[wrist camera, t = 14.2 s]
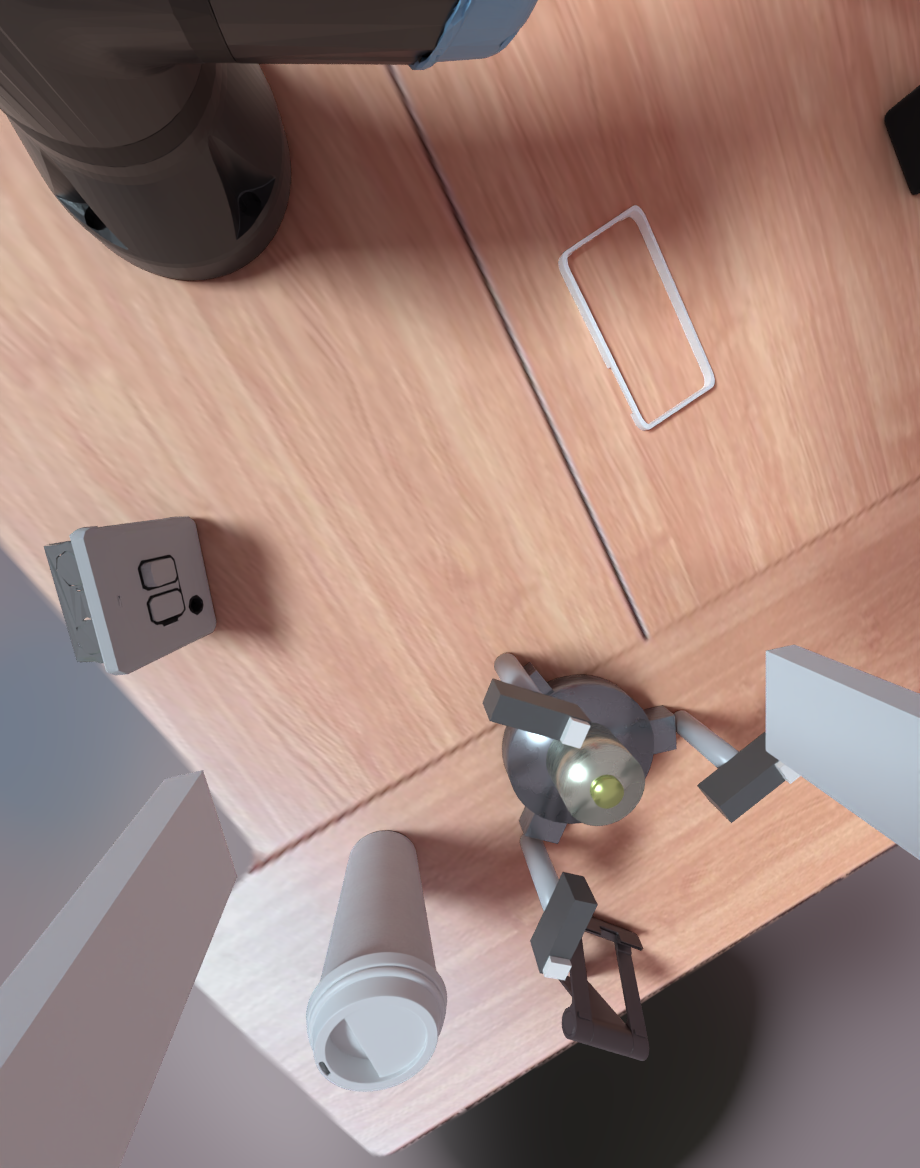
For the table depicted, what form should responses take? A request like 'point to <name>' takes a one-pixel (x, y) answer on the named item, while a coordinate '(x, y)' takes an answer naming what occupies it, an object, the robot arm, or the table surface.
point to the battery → (907, 136)
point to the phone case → (674, 296)
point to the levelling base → (596, 709)
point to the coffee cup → (377, 973)
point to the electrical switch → (132, 591)
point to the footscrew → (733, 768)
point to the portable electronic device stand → (591, 1012)
